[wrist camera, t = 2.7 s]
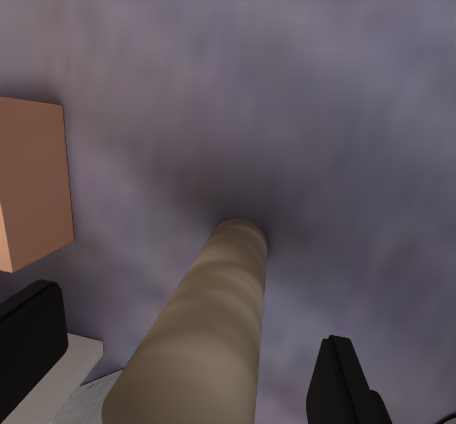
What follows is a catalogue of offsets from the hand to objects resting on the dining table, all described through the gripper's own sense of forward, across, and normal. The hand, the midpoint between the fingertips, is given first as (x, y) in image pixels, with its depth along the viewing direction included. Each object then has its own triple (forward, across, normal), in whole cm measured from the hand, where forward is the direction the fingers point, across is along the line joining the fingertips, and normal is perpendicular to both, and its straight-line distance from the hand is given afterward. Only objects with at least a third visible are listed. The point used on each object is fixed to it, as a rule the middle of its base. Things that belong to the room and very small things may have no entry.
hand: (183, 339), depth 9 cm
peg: (+9, -1, +1) cm, 9 cm away
